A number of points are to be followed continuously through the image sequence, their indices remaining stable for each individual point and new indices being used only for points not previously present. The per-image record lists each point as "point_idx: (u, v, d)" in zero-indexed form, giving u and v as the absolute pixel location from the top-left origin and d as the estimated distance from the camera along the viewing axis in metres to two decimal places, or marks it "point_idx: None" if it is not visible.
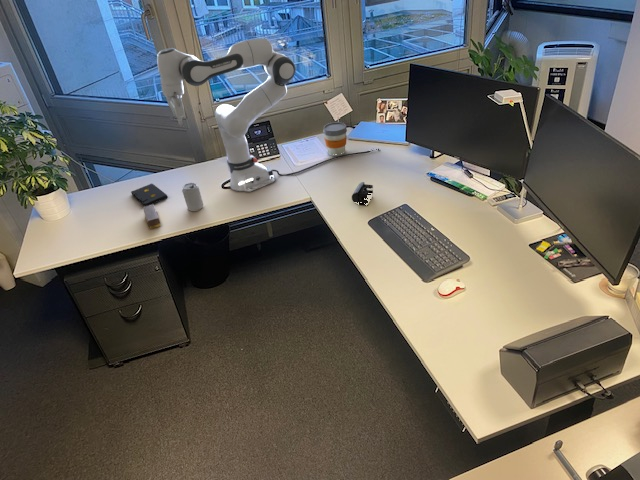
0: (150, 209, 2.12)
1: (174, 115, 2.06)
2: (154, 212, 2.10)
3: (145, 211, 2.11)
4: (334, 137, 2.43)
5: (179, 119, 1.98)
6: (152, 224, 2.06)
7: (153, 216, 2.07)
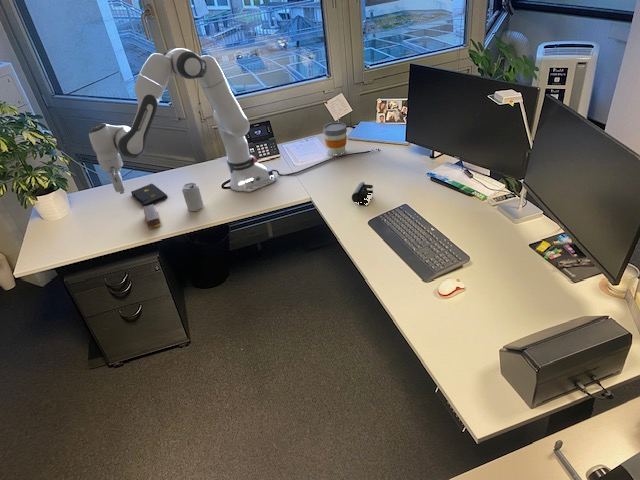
0: (150, 209, 2.12)
1: None
2: (154, 212, 2.10)
3: (145, 211, 2.11)
4: (334, 137, 2.43)
5: None
6: (152, 224, 2.06)
7: (153, 216, 2.07)
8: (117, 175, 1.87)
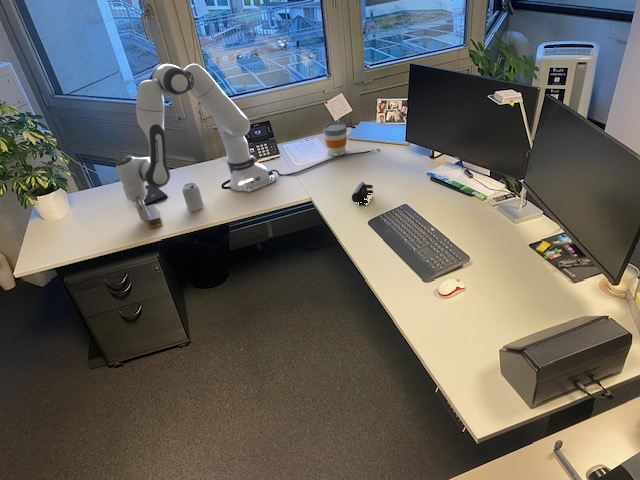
0: (151, 209, 2.12)
1: None
2: (156, 211, 2.10)
3: None
4: (334, 137, 2.43)
5: None
6: (153, 224, 2.06)
7: (154, 216, 2.07)
8: (142, 204, 1.97)
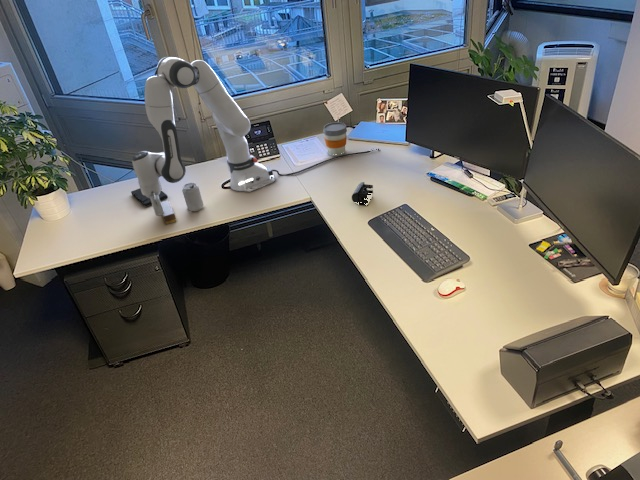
0: (165, 205, 2.14)
1: None
2: (170, 207, 2.12)
3: None
4: (334, 137, 2.43)
5: None
6: (168, 219, 2.08)
7: (168, 212, 2.09)
8: (157, 199, 1.99)
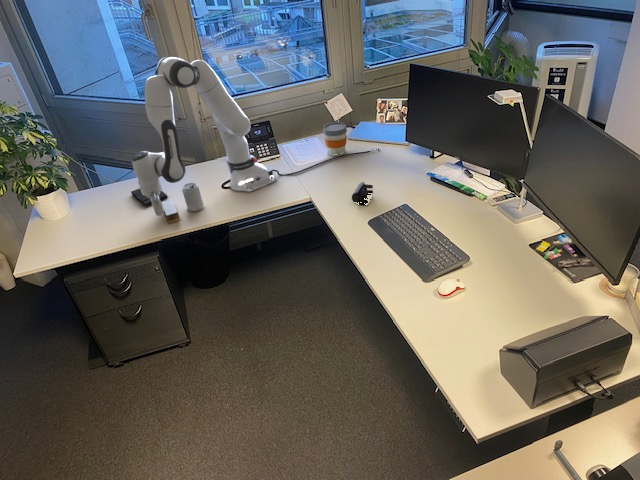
0: (169, 204, 2.14)
1: None
2: (173, 206, 2.12)
3: (164, 206, 2.13)
4: (334, 137, 2.43)
5: None
6: (171, 218, 2.08)
7: (172, 211, 2.09)
8: (158, 199, 1.99)
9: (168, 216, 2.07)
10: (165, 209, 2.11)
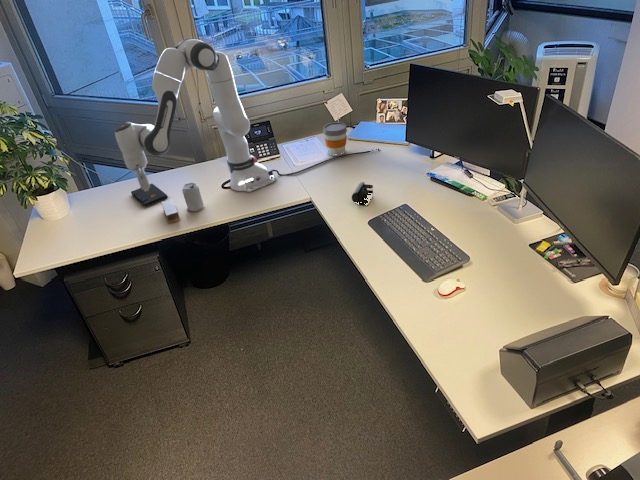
0: (169, 204, 2.14)
1: None
2: (173, 206, 2.12)
3: (164, 206, 2.13)
4: (334, 137, 2.43)
5: None
6: (171, 218, 2.08)
7: (172, 211, 2.09)
8: (143, 173, 1.91)
9: (168, 216, 2.07)
10: (165, 209, 2.11)
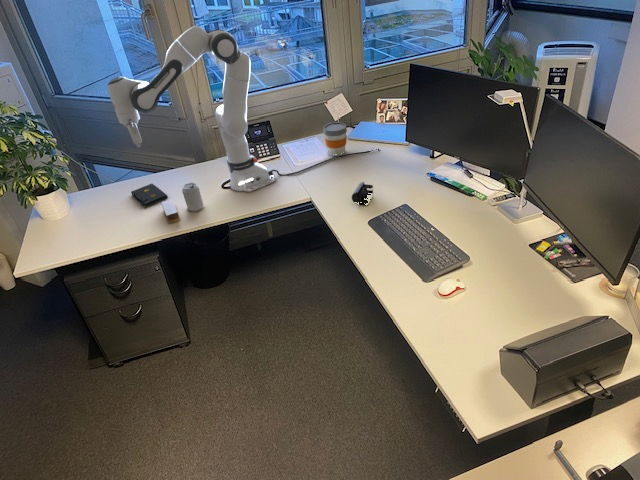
0: (169, 204, 2.14)
1: None
2: (173, 206, 2.12)
3: (164, 206, 2.13)
4: (334, 137, 2.43)
5: None
6: (171, 218, 2.08)
7: (172, 211, 2.09)
8: (135, 127, 1.94)
9: (168, 216, 2.07)
10: (165, 209, 2.11)
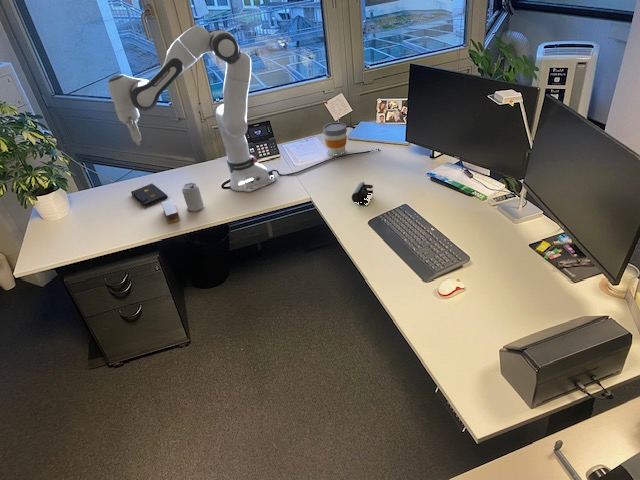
0: (169, 204, 2.14)
1: None
2: (173, 206, 2.12)
3: (164, 206, 2.13)
4: (334, 137, 2.43)
5: None
6: (171, 218, 2.08)
7: (172, 211, 2.09)
8: (135, 124, 1.94)
9: (168, 216, 2.07)
10: (165, 209, 2.11)
